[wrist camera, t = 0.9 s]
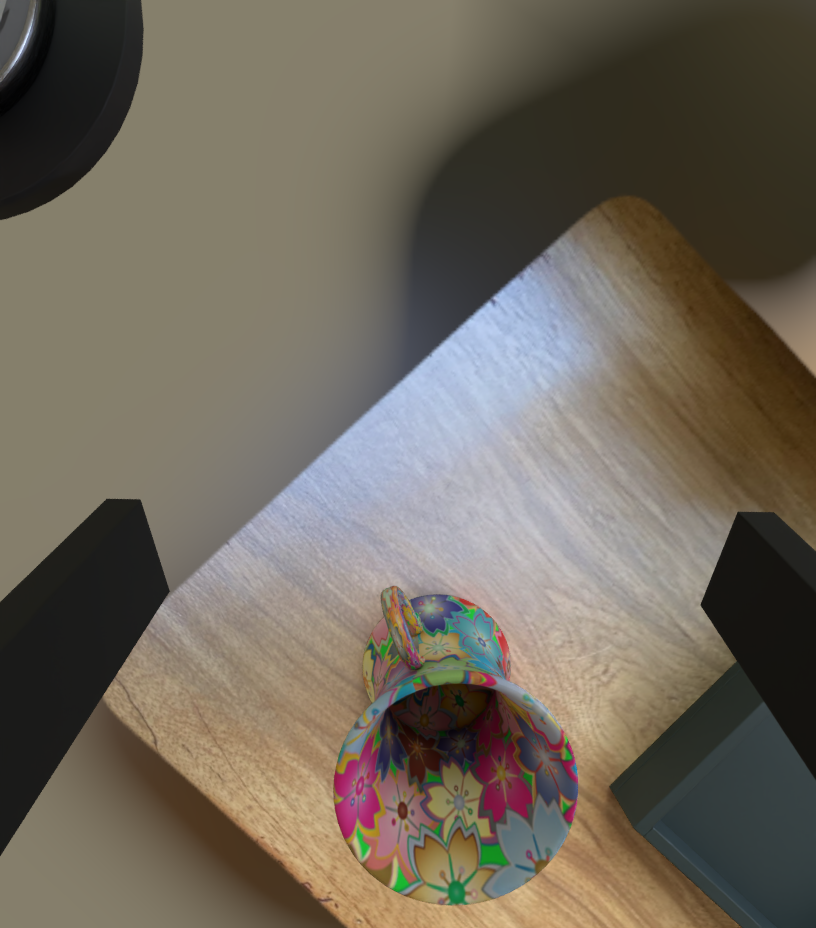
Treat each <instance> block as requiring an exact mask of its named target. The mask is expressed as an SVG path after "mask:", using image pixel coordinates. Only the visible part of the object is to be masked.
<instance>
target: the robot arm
mask: <svg viewBox="0 0 816 928" xmlns="http://www.w3.org/2000/svg"><path fill="white" fill-rule="evenodd" d="M55 13H56V0H0V117H1V116H3V115H4V114H5V113H6V112H8V111H9V110H10V109H11V108H12V107H13V106H14V105H15V104H16V103H17V102H18V101H19V100H20V99H21V98H22V97H23V96H24V95H25V93H26V92H27V91H28V90H29V88H30V87H31V86H32V84H33V82H34V81H35V79H36V78H37V76H38V74H39V72H40V70H41V68H42V66H43V64H44V62H45V59H46V57H47V54H48V51H49V48H50V44H51V41H52V37H53V31H54V25H55ZM169 592H170V591H169V588H168V585H167V582H166V578H165V575H164V572H163V569H162V566H161V563H160V559H159V557H158V553H157V550H156V547H155V544H154V540H153V537H152V534H151V531H150V528H149V525H148V522H147V518H146V515H145V512H144V509H143V506H142V503H141V500H137V499H134V500H133V499H106V500H105V501H104V502H103V503H102V504H101V505H100V506H99V507H98V508H97V509H96V510H95V511H94V512H93V513H92V514H91V515H90V516H89V517H88V518H87V519H86V520H85V521H84V522H83V523H82V524H80V525H79V527H77V528H76V529H75V530H74V531H73V532H72V533H71V534H70V535H69V536H68V537H67V538H66V539H65V540H64V541H63V542H62V543H61V544H60V545H59V546H58V547H57V548H56V549H55V550H54V551H53V552H52V553H51V554H50V555H48V556H47V557H46V558H45V559H44V560H43V561H42V562H41V563H40V564H39V565H38V566H37V567H36V568H35V569H34V570H33V571H32V572H31V573H30V574H29V575H28V576H27V577H26V578H25V579H24V580H23V581H21V582H20V583H19V584H18V585H17V586H16V587H15V588H14V589H13V590H12V591H11V592H10V593H9V594H8V595H7V596H6V597H5V598H4V599H3V600H2V601H1V602H0V856H1V854H2V853H3V851H4V849H5V848H6V846H7V845H8V843H9V842H10V840H11V838H12V837H13V835H14V834H15V832H16V831H17V829H18V828H19V826H20V824H21V823H22V821H23V820H24V818H25V817H26V815H27V813H28V812H29V810H30V809H31V807H32V805H33V804H34V803H35V800H36V799H37V798H38V796H39V795H40V793H41V792H42V790H43V788H44V787H45V785H46V784H47V782H48V780H49V779H50V778H51V776H52V774H53V773H54V771H55V770H56V768H57V766H58V765H59V763H60V762H61V760H62V759H63V757H64V755H65V754H66V753H67V751H68V749H69V748H70V746H71V745H72V743H73V742H74V740H75V738H76V737H77V735H78V734H79V732H80V731H81V729H82V727H83V726H84V724H85V723H86V721H87V720H88V718H89V717H90V715H91V713H92V712H93V710H94V709H95V707H96V706H97V704H98V702H99V701H100V699H101V698H102V696H103V695H104V693H105V692H106V690H107V688H108V687H109V685H110V684H111V682H112V681H113V679H114V677H115V676H116V674H117V673H118V671H119V670H120V668H121V667H122V665H123V663H124V662H125V660H126V659H127V657H128V656H129V654H130V652H131V651H132V649H133V648H134V646H135V645H136V643H137V642H138V640H139V638H140V637H141V635H142V634H143V632H144V631H145V629H146V627H147V626H148V624H149V623H150V621H151V620H152V618H153V617H154V615H155V613H156V612H157V610H158V609H159V607H160V606H161V604H162V602H163V601H164V599H165V598H166V596H167V595H168V593H169ZM701 607H702V608H703V610H704V611H705V613H706V614H707V616H708V617H709V619H710V620H711V622H712V623H713V625H714V627H715V628H716V630H717V631H718V633H719V634H720V636H721V637H722V639H723V640H724V642H725V643H726V645H727V646H728V648H729V649H730V651H731V652H732V654H733V655H734V657H735V658H736V660H737V661H738V663H739V664H740V666H741V668H742V669H743V671H744V672H745V674H746V675H747V677H748V678H749V680H750V681H751V683H752V684H753V686H754V687H755V689H756V690H757V692H758V693H759V695H760V696H761V698H762V699H763V701H764V702H765V704H766V705H767V707H768V709H769V710H770V712H771V713H772V715H773V716H774V718H775V719H776V721H777V722H778V724H779V725H780V727H781V728H782V730H783V731H784V733H785V734H786V736H787V737H788V739H789V740H790V742H791V743H792V745H793V747H794V748H795V750H796V751H797V753H798V754H799V756H800V757H801V759H802V760H803V762H804V763H805V765H806V766H807V768H808V769H809V771H810V772H811V774H812V775H813V777H814V778H815V780H816V551H815V550H814V549H813V548H812V547H811V546H809V545H808V544H807V543H806V542H805V541H804V540H803V539H802V538H801V537H800V536H799V535H798V534H797V533H795V532H794V531H793V530H792V529H791V528H790V527H789V526H788V525H787V524H786V523H785V522H784V521H783V520H782V519H780V518H779V517H778V516H777V515H776V514H775V513H774V512H738V513H737V515H736V518H735V520H734V523H733V525H732V528H731V530H730V533H729V535H728V537H727V540H726V542H725V545H724V547H723V550H722V552H721V555H720V557H719V560H718V562H717V565H716V567H715V570H714V572H713V575H712V577H711V580H710V582H709V585H708V587H707V590H706V592H705V595H704V597H703V600H702V602H701Z"/></svg>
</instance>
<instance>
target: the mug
mask: <svg viewBox="0 0 816 928" xmlns="http://www.w3.org/2000/svg"><path fill="white" fill-rule="evenodd" d="M381 604H382V609H383V613H384V617H383V618H382V619H381V621H380V622H379V623H378V624H377V626H376V627H375V629H374V630H373V632H372V633H371V635H370V637H369V639H368V642H367V644H366V648H365V651H364V656H363V679H364V684H365V688H366V690H367V693H368V696H369V698H370V700H371V702H372V704H371V705H370V706H369V707H368V708H367V709H366V710H365V711H364V712H363V714H362V715H361V716H360V717H359V719H358V720H357V721H356V722H355V724H354V725H353V727H352V728H351V730H350V732H349V733H348V735H347V737H346V739H345V741H344V743H343V746H342V748H341V751H340V753H339V757H338V761H337V764H336V770H335V776H334V787H333V792H334V805H335V812H336V816H337V820H338V824H339V826H340V829H341V832H342V835H343V837H344V839H345V841H346V843H347V845H348V847H349V848H350V850H351V852H352V853H353V855H354V856H355V857H356V859H357V860H358V861H359V863H360V864H361V865H362V866H363V867H364V868H365V869H366V870H367V871H368V872H369V873H370V874H371V875H372V876H373V877H375V878H376V879H377V880H378V881H380V882H381V883H383V884H384V885H385V886H387V887H389V888H390V889H392V890H394V891H396V892H398V893H400V894H402V895H404V896H407V897H409V898H412V899H415V900H418V901H422V902H427V903H432V904H439V905H467V904H475V903H480V902H484V901H488V900H491V899H495V898H498V897H500V896H503V895H505V894H507V893H510V892H511V891H513V890H515V889H517V888H519V887H521V886H522V885H524V884H525V883H527V882H528V881H530V880H531V879H532V878H533V877H534V876H536V875H537V874H538V873H539V872H540V871H541V870H542V869H543V868H544V867H545V866H546V865H547V864H548V863H549V862H550V861H551V860H552V858H553V857H554V856H555V855H556V853H557V852H558V850H559V849H560V847H561V846H562V844H563V842H564V840H565V838H566V837H567V834H568V832H569V830H570V827H571V825H572V821H573V818H574V815H575V810H576V806H577V797H578V776H577V767H576V762H575V758H574V755H573V751H572V748H571V746H570V743H569V741H568V739H567V736H566V735H565V733H564V731H563V729H562V728H561V726H560V724H559V723H558V721H557V720H556V719H555V717H554V716H553V715H552V713H551V712H550V711H549V710H548V709H547V708H546V707H545V706H544V705H543V704H542V703H541V702H540V701H539V700H538V699H537V698H535V697H534V696H533V695H531V694H530V693H529V692H527V691H526V690H524V689H522V688H521V687H519V686H518V685H516V684H514V683H512V682H510V681H509V680H510V672H511V659H510V652H509V648H508V645H507V641H506V639H505V637H504V635H503V633H502V631H501V629H500V628H499V626H498V625H497V623H496V622H495V621H494V620H493V619H492V618H491V617H490V616H489V615H488V614H487V613H486V612H485V611H484V610H482V609H481V608H479V607H478V606H476V605H475V604H473V603H471V602H469V601H467V600H464V599H461V598H458V597H454V596H449V595H426V596H421V597H417V598H414V599H411V600H408V599H407V597H406V596H405V594H404V593H403V591H402V590H401V589H400V588H399V587H397V586H392V587H389V588H386V589H385V590H383V591H382V593H381Z"/></svg>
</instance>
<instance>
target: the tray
mask: <svg viewBox="0 0 816 928" xmlns="http://www.w3.org/2000/svg"><path fill="white" fill-rule="evenodd" d="M610 789H611V790H612V792H613V794H614V795H615V797H616V799H617V801H618V802H619V804H620V806H621V807H622V809H623V811H624V813H625V814H626V816H627V818H628V819H629V821H630V823H631V825H632V826H633V828H634V829H635V830H636V831H637V832H638V833H640V834H641V835H642V836H643V837H644V838H645V839H646V840H647V841H648V842H649V843H651V844H652V845H653V846H654V847H655V848H656V849H657V850H658V851H659V852H660V853H661V854H663V855H664V856H665V857H666V858H667V859H668V860H669V861H670V862H671V863H672V864H673V865H675V866H676V867H677V868H678V869H679V870H680V871H681V872H682V873H683V874H684V875H685V876H687V877H688V878H689V879H690V880H691V881H692V882H693V883H694V884H695V885H696V886H697V887H699V888H700V889H701V890H702V891H703V892H704V893H705V894H706V895H707V896H708V897H709V898H710V899H712V900H713V901H714V902H715V903H716V904H717V905H718V906H719V907H720V908H721V909H722V910H724V911H725V912H726V913H727V914H728V915H729V916H730V917H731V918H732V919H733V920H734V921H736V922H737V923H738V924H739V925H740V926H741V927H742V928H816V780H815V778H814V777H813V775H812V774H811V772H810V771H809V769H808V768H807V766H806V765H805V763H804V762H803V760H802V759H801V757H800V756H799V754H798V753H797V751H796V750H795V748H794V747H793V745H792V743H791V742H790V740H789V739H788V737H787V736H786V734H785V733H784V731H783V730H782V728H781V727H780V725H779V724H778V722H777V721H776V719H775V718H774V716H773V715H772V713H771V712H770V710H769V709H768V707H767V705H766V704H765V702H764V701H763V699H762V698H761V696H760V695H759V693H758V692H757V690H756V689H755V687H754V686H753V684H752V683H751V681H750V680H749V678H748V677H747V675H746V674H745V672H744V671H743V669H742V668H741V666H740V664H739V663H738V661H737V662H736V663H735V664H734V665H733V666H732V667H731V668H730V669H729V670H728V671H727V672H726V673H725V674H724V675H723V676H722V677H721V678H720V679H719V680H718V681H717V682H716V683H715V684H714V685H712V686H711V687H710V688H709V689H708V690H707V691H706V692H705V693H704V694H703V695H702V696H701V697H700V698H699V699H698V700H697V701H696V702H695V703H694V704H693V705H692V706H691V707H690V708H689V709H688V710H687V711H686V712H685V713H684V714H683V715H682V716H681V717H680V718H679V719H678V720H677V721H676V722H675V723H674V724H673V725H672V726H671V727H670V728H669V729H668V730H667V731H666V732H664V733H663V734H662V735H661V736H660V737H659V738H658V739H657V740H656V741H655V742H654V743H653V744H652V745H651V746H650V747H649V748H648V749H647V750H646V751H645V752H644V753H643V754H642V755H641V756H640V757H639V758H638V759H637V760H636V761H635V762H634V763H633V764H632V765H631V766H630V767H629V768H628V769H627V770H626V771H625V772H624V773H623V774H622V775H621V776H620V777H619V778H618V779H616V780H615V781H614V782H613V783H612V784H611V785H610Z"/></svg>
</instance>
